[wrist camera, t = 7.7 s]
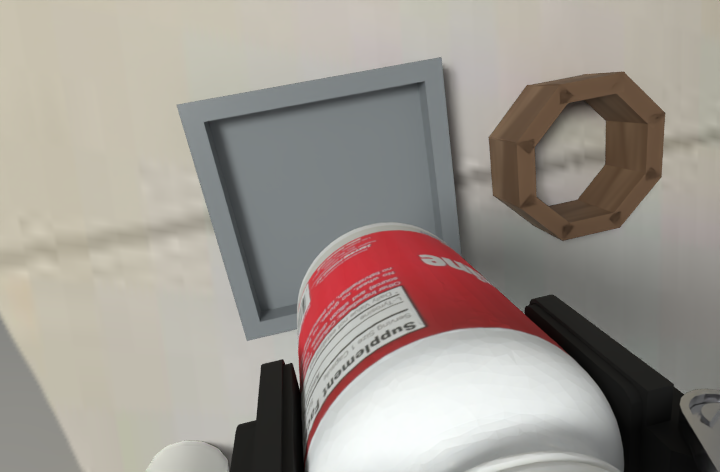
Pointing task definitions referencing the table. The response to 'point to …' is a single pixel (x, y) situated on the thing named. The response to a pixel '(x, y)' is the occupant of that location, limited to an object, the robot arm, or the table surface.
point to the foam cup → (189, 458)
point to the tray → (318, 175)
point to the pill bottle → (435, 368)
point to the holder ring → (623, 153)
